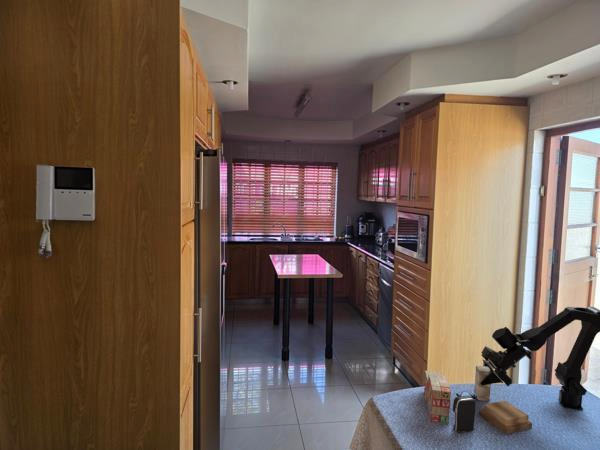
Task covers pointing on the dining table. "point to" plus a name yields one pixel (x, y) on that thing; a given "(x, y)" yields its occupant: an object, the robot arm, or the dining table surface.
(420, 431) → the dining table surface
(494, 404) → the maple block
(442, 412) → the stack of blocks
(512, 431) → the wooden base plate
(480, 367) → the ash block
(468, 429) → the battery charger
